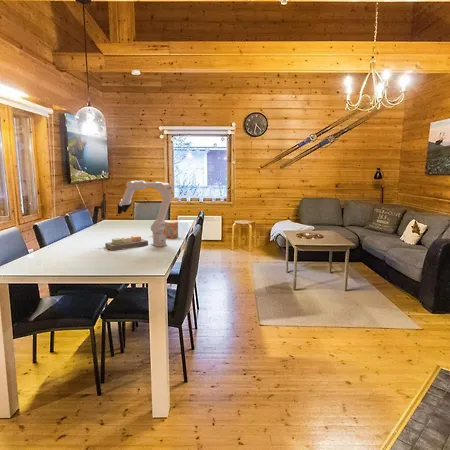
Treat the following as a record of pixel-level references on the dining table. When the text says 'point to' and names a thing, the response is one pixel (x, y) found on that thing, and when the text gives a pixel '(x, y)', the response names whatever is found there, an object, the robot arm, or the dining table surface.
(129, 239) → the cream key
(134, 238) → the terracotta key
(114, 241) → the green key
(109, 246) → the board
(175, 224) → the stack of blocks
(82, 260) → the dining table surface
